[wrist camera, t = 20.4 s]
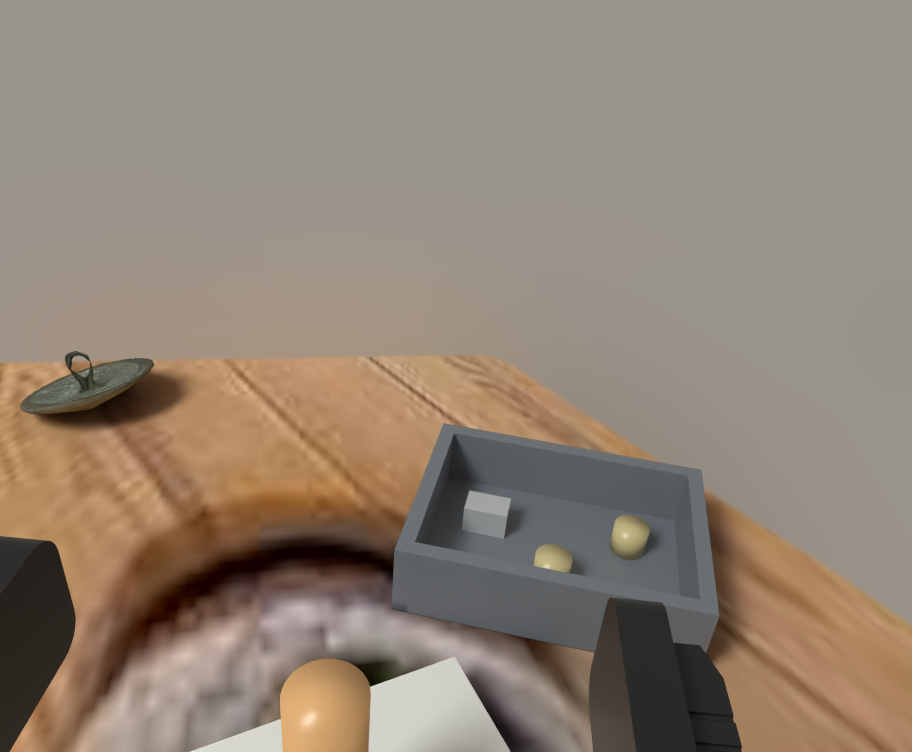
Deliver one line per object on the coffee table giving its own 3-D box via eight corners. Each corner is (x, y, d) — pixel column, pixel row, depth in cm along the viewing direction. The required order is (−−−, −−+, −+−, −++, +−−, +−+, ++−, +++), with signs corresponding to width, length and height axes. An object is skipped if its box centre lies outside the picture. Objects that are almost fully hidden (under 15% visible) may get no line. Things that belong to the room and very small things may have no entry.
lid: (77, 457, 59) (65, 402, 57) (-5, 414, 63) (-20, 361, 61) (182, 398, 67) (177, 347, 65) (104, 362, 71) (95, 313, 69)
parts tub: (685, 522, 58) (701, 470, 56) (698, 674, 47) (719, 616, 44) (439, 475, 61) (443, 423, 58) (391, 608, 49) (394, 550, 46)
